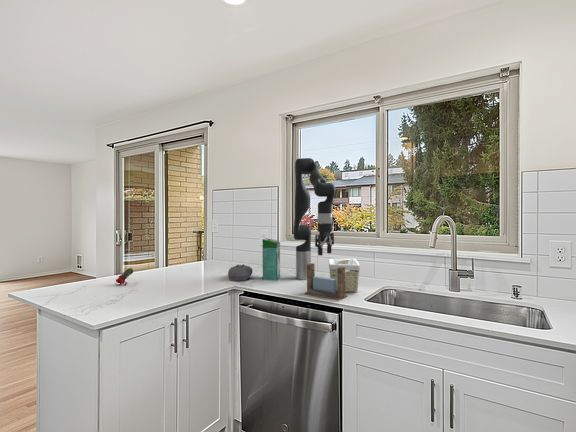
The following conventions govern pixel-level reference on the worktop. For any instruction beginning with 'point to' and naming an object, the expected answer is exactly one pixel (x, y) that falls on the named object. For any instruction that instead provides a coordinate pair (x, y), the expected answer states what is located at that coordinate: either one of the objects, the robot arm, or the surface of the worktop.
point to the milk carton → (271, 259)
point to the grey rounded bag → (240, 273)
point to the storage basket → (346, 272)
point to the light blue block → (325, 284)
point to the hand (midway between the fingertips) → (324, 254)
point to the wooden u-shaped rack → (331, 295)
